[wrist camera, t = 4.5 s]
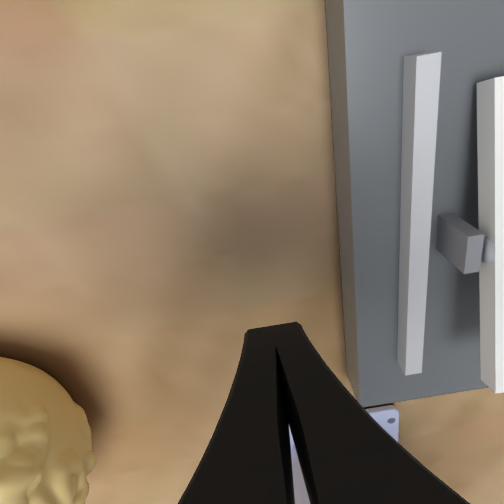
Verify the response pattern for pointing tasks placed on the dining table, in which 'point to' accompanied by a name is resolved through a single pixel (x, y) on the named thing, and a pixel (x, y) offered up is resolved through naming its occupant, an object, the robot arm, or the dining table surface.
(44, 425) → the sculpture
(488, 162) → the rocker paddle
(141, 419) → the dining table surface
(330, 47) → the switch panel
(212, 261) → the dining table surface
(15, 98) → the dining table surface
